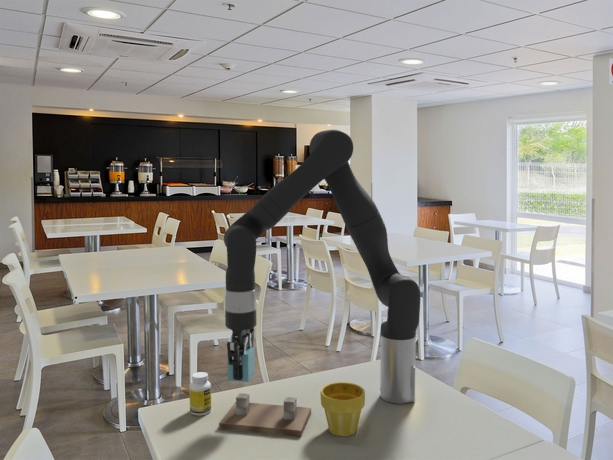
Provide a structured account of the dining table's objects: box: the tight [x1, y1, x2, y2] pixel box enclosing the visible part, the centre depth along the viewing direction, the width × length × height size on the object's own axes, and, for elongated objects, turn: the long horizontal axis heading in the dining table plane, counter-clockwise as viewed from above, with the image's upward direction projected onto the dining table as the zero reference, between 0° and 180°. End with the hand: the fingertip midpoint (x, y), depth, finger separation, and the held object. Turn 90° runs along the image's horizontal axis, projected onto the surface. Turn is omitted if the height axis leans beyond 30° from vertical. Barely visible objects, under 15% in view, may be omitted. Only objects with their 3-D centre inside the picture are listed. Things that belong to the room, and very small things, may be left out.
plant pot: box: [320, 381, 366, 437], centre depth 127 cm, size 10×10×10 cm
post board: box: [218, 392, 312, 438], centre depth 132 cm, size 20×12×6 cm, turn 78°
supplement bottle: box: [188, 371, 212, 417], centre depth 137 cm, size 5×5×10 cm
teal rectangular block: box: [226, 346, 256, 383], centre depth 132 cm, size 5×5×7 cm
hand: (241, 374), depth 132 cm, fingers closed on teal rectangular block, 5 cm apart
